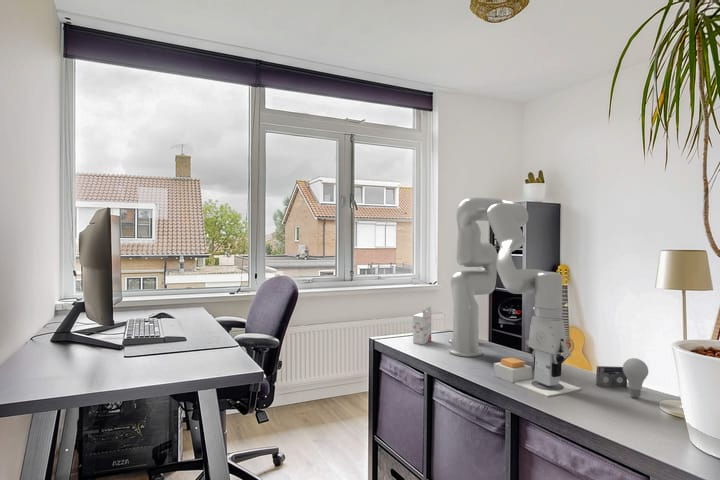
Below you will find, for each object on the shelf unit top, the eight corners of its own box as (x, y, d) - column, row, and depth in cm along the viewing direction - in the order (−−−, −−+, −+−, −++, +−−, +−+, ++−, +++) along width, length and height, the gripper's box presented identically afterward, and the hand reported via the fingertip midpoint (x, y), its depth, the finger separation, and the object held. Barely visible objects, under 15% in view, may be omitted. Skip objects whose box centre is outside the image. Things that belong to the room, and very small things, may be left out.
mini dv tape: (624, 386, 135) (624, 366, 135) (626, 387, 134) (627, 367, 134) (596, 385, 136) (596, 365, 136) (598, 387, 134) (598, 367, 134)
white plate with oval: (515, 384, 136) (515, 382, 136) (547, 377, 143) (547, 376, 143) (547, 396, 126) (547, 395, 126) (580, 389, 132) (581, 387, 132)
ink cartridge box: (421, 339, 194) (421, 305, 194) (431, 340, 192) (431, 306, 192) (412, 343, 187) (412, 308, 187) (423, 344, 185) (423, 309, 184)
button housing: (493, 375, 144) (494, 363, 144) (512, 372, 148) (512, 360, 148) (512, 383, 137) (512, 370, 137) (531, 379, 141) (531, 366, 141)
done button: (500, 368, 144) (500, 359, 144) (512, 366, 146) (512, 357, 146) (512, 372, 139) (512, 363, 139) (524, 370, 141) (524, 361, 141)
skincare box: (533, 380, 136) (534, 340, 136) (544, 378, 138) (544, 339, 138) (549, 386, 130) (550, 345, 130) (560, 384, 132) (561, 343, 132)
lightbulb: (618, 393, 129) (618, 355, 129) (639, 394, 128) (640, 355, 128) (630, 401, 123) (630, 361, 122) (652, 401, 122) (653, 361, 122)
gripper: (516, 309, 140) (516, 366, 140) (563, 319, 124) (562, 383, 125) (534, 308, 143) (533, 363, 144) (582, 317, 128) (581, 380, 128)
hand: (547, 372), depth 134 cm, fingers closed on skincare box, 6 cm apart
